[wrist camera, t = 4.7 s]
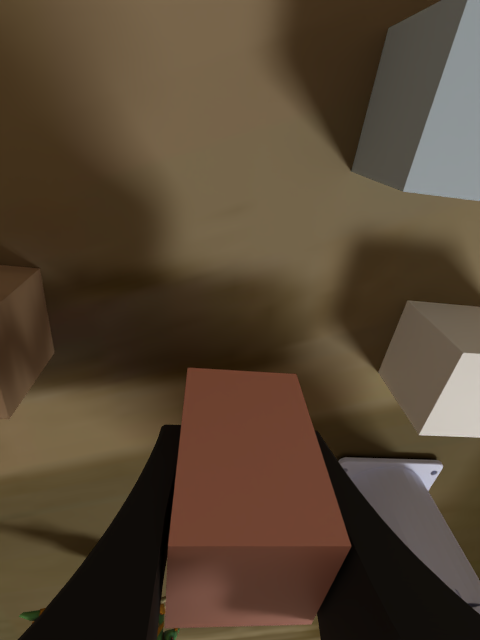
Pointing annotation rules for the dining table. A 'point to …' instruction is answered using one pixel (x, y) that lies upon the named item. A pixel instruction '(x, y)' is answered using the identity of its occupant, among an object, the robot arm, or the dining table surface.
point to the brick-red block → (250, 506)
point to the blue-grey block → (427, 105)
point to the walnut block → (21, 334)
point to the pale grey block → (436, 368)
